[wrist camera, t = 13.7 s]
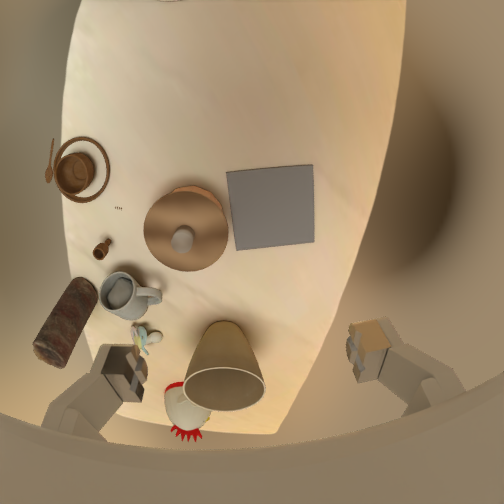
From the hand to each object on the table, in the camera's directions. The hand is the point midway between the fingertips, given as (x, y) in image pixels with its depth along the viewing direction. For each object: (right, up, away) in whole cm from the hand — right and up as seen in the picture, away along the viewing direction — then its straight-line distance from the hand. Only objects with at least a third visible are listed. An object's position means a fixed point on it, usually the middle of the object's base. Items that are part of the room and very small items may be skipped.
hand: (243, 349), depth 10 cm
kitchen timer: (-17, -36, +63) cm, 74 cm away
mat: (+4, +11, +38) cm, 40 cm away
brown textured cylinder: (-36, -5, +45) cm, 57 cm away
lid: (-10, +7, +34) cm, 36 cm away
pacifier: (-25, -14, +51) cm, 59 cm away
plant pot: (-6, -14, +51) cm, 53 cm away
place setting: (-30, +15, +35) cm, 49 cm away
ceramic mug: (-22, -2, +44) cm, 49 cm away
